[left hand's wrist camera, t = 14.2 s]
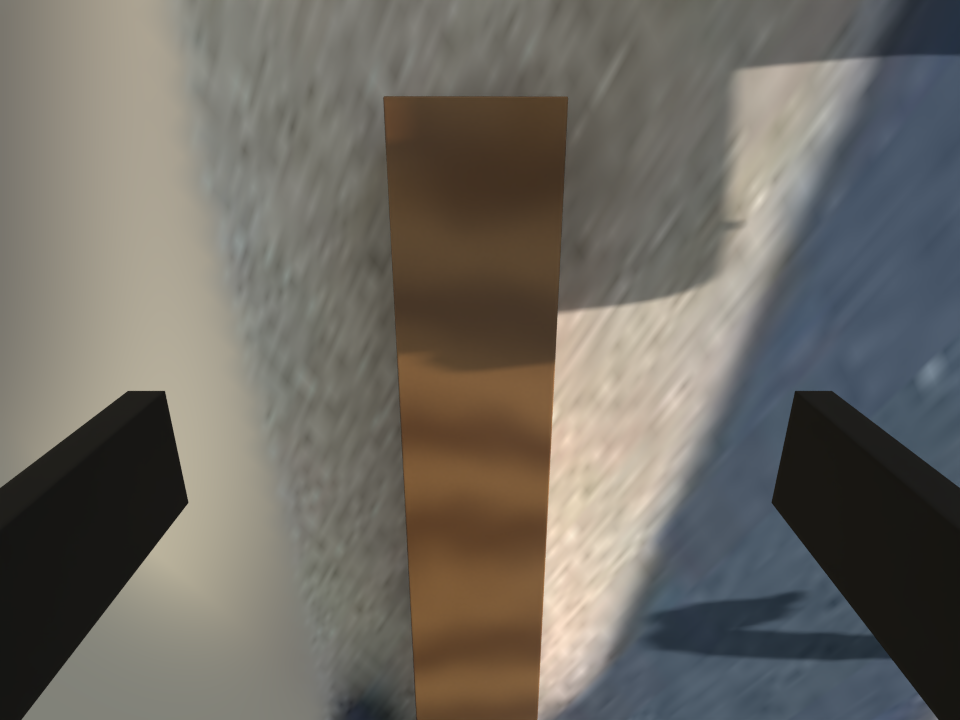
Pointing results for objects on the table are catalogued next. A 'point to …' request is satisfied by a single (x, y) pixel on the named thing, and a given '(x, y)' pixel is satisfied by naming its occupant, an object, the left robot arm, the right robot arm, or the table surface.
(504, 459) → the wooden beam
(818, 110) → the table surface
